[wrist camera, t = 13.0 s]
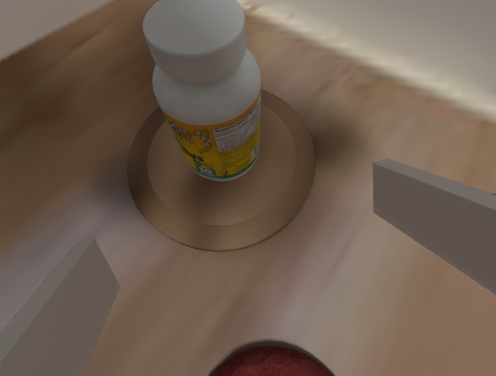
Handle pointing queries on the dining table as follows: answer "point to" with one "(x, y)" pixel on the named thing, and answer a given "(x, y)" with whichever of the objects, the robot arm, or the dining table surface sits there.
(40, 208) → the dining table surface
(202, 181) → the plate
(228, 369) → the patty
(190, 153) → the supplement bottle
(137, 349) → the dining table surface
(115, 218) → the dining table surface
